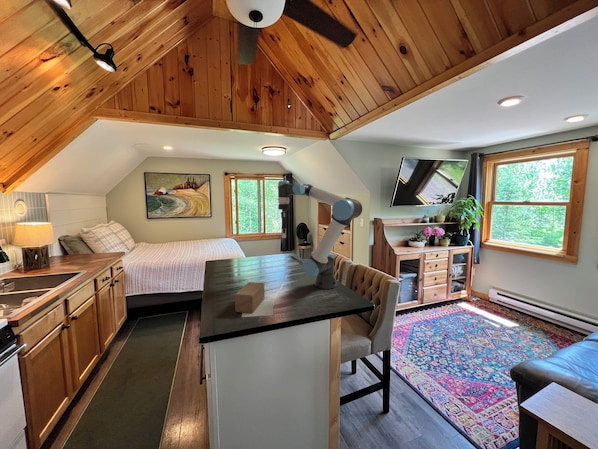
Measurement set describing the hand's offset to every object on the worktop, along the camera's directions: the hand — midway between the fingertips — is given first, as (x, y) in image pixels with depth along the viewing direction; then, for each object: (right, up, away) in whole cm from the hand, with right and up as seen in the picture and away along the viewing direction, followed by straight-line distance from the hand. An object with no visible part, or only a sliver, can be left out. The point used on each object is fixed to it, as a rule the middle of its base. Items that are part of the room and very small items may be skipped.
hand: (284, 237), depth 174 cm
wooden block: (-15, -30, -26) cm, 42 cm away
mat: (-12, -36, -37) cm, 53 cm away
